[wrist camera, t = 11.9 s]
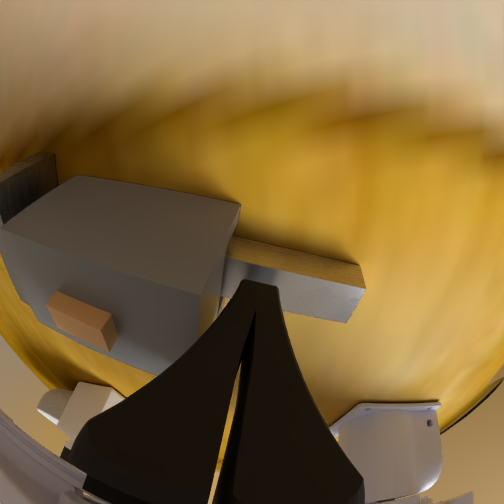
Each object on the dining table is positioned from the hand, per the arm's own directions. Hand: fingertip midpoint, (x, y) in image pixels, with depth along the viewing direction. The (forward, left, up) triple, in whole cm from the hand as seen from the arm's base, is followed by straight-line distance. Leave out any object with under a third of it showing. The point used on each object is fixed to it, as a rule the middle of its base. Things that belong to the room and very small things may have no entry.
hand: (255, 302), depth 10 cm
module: (+5, 0, -2) cm, 6 cm away
